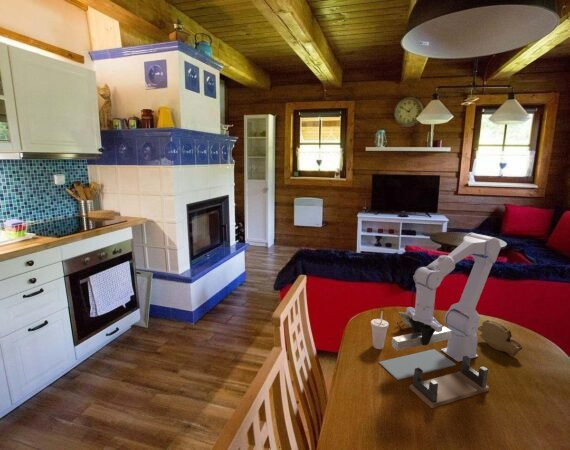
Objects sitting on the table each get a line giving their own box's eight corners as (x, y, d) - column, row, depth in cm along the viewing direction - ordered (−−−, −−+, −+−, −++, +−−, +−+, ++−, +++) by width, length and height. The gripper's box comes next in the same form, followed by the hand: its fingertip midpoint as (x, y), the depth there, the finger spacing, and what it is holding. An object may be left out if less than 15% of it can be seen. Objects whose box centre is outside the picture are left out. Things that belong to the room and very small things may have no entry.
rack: (464, 373, 114) (466, 354, 112) (488, 390, 105) (491, 370, 104) (409, 388, 106) (411, 367, 105) (431, 408, 98) (433, 386, 97)
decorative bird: (438, 332, 141) (439, 314, 139) (398, 332, 141) (400, 314, 139) (432, 325, 146) (434, 309, 145) (394, 325, 146) (395, 309, 144)
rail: (443, 334, 121) (444, 326, 121) (450, 338, 118) (451, 330, 118) (391, 345, 114) (392, 337, 113) (397, 350, 111) (398, 342, 110)
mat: (434, 350, 127) (434, 349, 127) (455, 365, 118) (455, 364, 118) (378, 362, 119) (378, 361, 119) (397, 380, 110) (397, 379, 110)
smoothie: (387, 352, 126) (390, 316, 123) (369, 350, 127) (371, 314, 124) (386, 342, 132) (388, 308, 129) (369, 341, 133) (371, 307, 130)
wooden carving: (523, 358, 122) (527, 332, 120) (515, 361, 120) (519, 335, 118) (480, 336, 137) (483, 313, 135) (472, 339, 135) (475, 315, 133)
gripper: (400, 297, 119) (397, 333, 121) (431, 315, 105) (427, 355, 108) (416, 294, 121) (413, 330, 124) (449, 311, 108) (445, 351, 110)
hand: (421, 341), depth 116 cm, fingers closed on rail, 3 cm apart
